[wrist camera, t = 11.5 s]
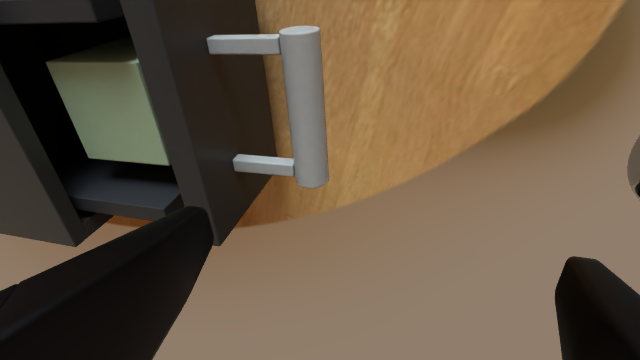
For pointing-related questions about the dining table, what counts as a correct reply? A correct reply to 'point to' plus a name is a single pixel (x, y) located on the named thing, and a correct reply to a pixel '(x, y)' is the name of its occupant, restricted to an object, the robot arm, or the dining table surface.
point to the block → (110, 103)
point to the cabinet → (34, 183)
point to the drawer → (174, 102)
